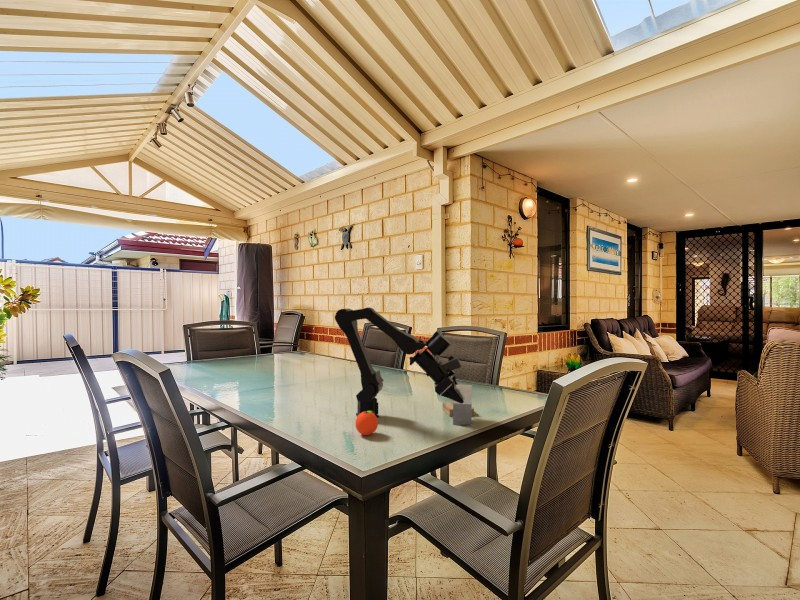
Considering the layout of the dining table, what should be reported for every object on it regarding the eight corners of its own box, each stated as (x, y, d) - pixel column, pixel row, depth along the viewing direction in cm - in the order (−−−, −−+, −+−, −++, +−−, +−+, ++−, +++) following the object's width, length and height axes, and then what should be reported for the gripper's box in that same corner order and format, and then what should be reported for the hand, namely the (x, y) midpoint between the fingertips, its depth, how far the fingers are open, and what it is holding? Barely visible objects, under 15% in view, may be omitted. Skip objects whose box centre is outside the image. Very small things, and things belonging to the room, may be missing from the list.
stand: (449, 416, 138) (449, 409, 138) (442, 409, 147) (442, 402, 147) (473, 415, 139) (473, 408, 139) (465, 408, 148) (465, 402, 148)
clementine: (365, 428, 125) (366, 406, 125) (384, 432, 121) (384, 409, 121) (350, 435, 118) (350, 412, 118) (369, 440, 114) (369, 415, 114)
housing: (452, 424, 129) (453, 388, 129) (453, 419, 135) (454, 384, 135) (471, 425, 128) (471, 389, 128) (471, 420, 134) (471, 385, 134)
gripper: (445, 352, 123) (481, 388, 121) (448, 345, 142) (480, 377, 140) (420, 376, 125) (455, 413, 123) (427, 367, 143) (457, 398, 141)
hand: (463, 399), depth 131 cm, fingers open, 9 cm apart
